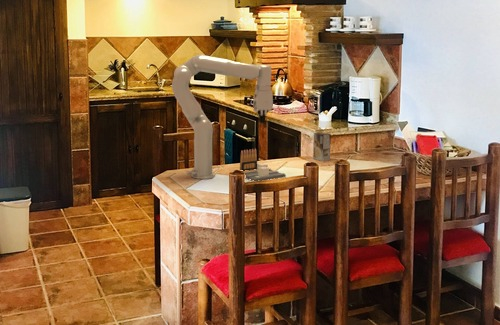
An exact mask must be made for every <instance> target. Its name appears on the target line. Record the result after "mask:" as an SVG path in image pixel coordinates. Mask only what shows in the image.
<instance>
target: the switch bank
mask: <svg viewBox="0 0 500 325" xmlns="http://www.w3.org/2000/svg"><path fill="white" fill-rule="evenodd" d="M244 172H245V175H246V178H248V179H247V180H249V179H251V180H250V181H252V180H254V181H256V182H259V181H258V180H262V181H267V180H268V179H269V180H275V179H281V178H286V177H287V176H286V173H282V172H279V170H272V169H271V168H269V176H263V177H260V176H258V172H257V170H250V171H244ZM246 178H245V179H246ZM274 178H275V179H274ZM254 181H253V182H254Z"/></svg>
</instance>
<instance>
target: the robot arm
mask: <svg viewBox="0 0 500 325" xmlns="http://www.w3.org/2000/svg"><path fill="white" fill-rule="evenodd" d="M173 71H174V72H173V79H172V82H171V83H172V84H171V89H172V90H171V91H172V93H173V95H174V98H175V99H176V101H177V103H178V104H179V106H180V108H181V111H182V113H183V115H184V116H185V118H186V120H187V121H188V123H189V124H190V127H192V129H193V130H194V135H193V136H194V137H193V146H194V147H193V150H194V154H193V155H194V156H193V157H194V159H193V160H194V161H193V162H194V168H192V169H191V170H186V171H185V173H186V175H187V176H188V175H191V177H192V178H194V179H196V180H197V179H198V180H208V179H213V178H215V177H216V173H214V172H213V132H214V129H213V124H212V122H211V120H210V119H208V117H207V116H206V114H205V113H204V110H203V108H202V107H201V104H200V102H198V101H197V99H196V97H195V96H194V94H193V93H192V91H191V89H190V87H189V86H190V81H191V79H192V78H193V77H194V76H195V75H198V73H200V72H204V73H207V74H208V73H209V74H213V75H214V74H215V75H221V76H226V77H234V78H240V79H245V80H246V79H247V80H252V81H253V80H255V79H256V85H255V86H254V89H255V91H254V95H253V102H252V104H253V106H252V108H253V112H254V113H257V115H258V122H259V123H261V124H265V123H266V116H267V114H268V113H269V112H271V111H272V110H273V107H274V106H273V105H274V99H273V98H274V97H273V91H272V90H271V87H272V86H271V85H272V66H271V65H269V64H253V63H243V62H237V61H233V60H231V59H227V58H223V57H217V56H211V55H206V54H202V53H197V54H195V55H194V56H192V57H191V58H189V59H187V61H185V62H183V63H182V64H180V65H179V66H177V67H175V70H173Z"/></svg>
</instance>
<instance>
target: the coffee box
mask: <svg viewBox="0 0 500 325" xmlns="http://www.w3.org/2000/svg"><path fill="white" fill-rule="evenodd" d="M331 135H332V134H331V133H327V132H323V131H322V132H321V131H319V132H318V131H317V132H313V147H312V148H313V149H312V150H313V151H312V159H313V160H315V161H316V160H317V161H321V162H326V161H327V162H329V161H331V143H332V142H331V141H332V140H331V139H332V136H331Z"/></svg>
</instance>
